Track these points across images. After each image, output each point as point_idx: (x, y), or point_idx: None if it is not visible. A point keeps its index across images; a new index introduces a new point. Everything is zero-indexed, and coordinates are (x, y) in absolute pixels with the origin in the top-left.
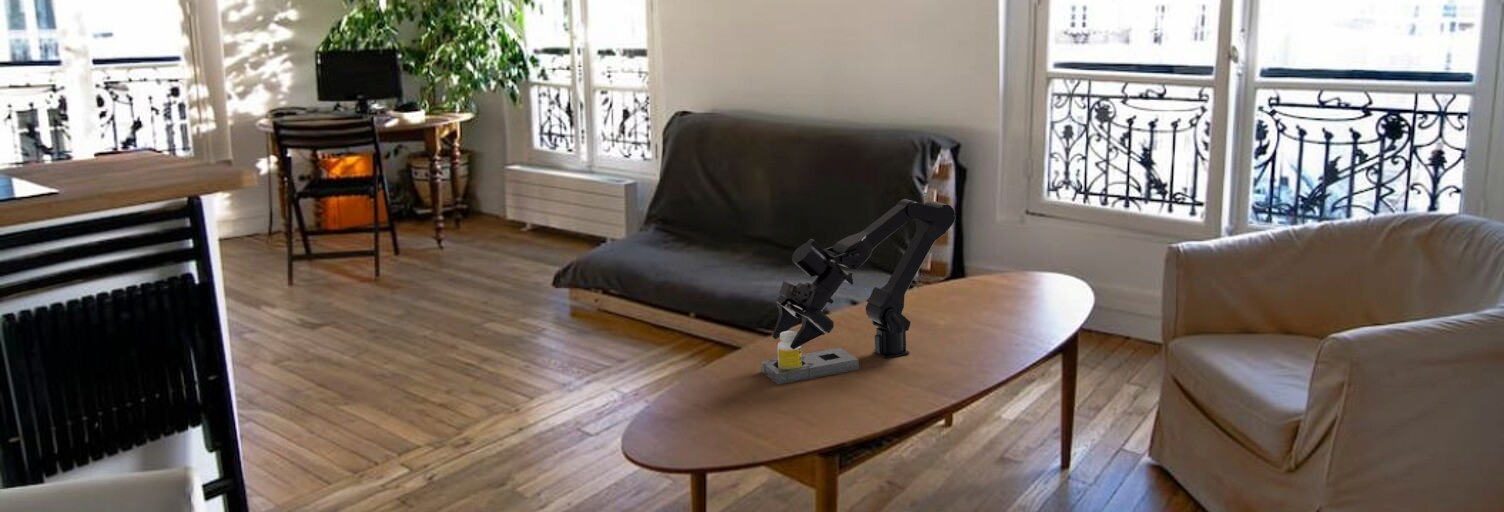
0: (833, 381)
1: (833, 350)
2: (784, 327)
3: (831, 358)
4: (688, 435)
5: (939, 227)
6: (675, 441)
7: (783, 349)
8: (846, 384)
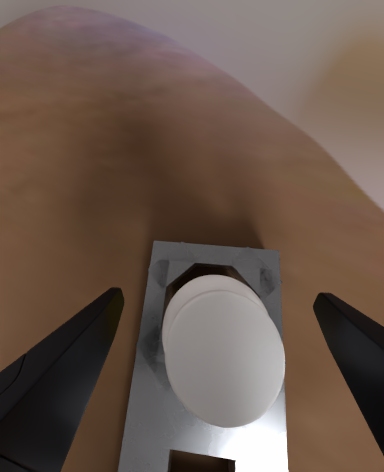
0: None
1: None
2: (382, 407)
3: None
4: (55, 54)
5: None
6: (51, 39)
7: (186, 283)
8: None
